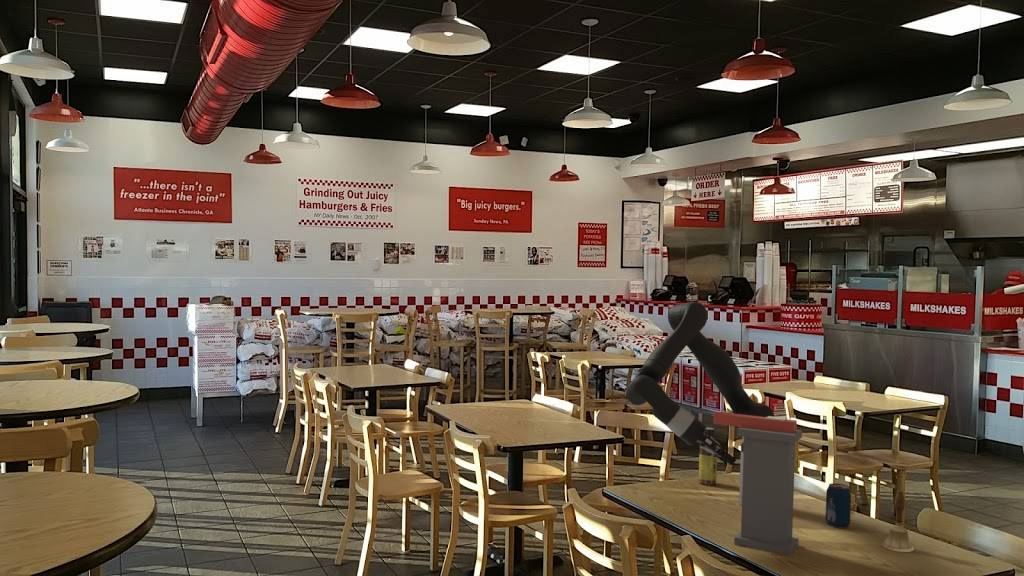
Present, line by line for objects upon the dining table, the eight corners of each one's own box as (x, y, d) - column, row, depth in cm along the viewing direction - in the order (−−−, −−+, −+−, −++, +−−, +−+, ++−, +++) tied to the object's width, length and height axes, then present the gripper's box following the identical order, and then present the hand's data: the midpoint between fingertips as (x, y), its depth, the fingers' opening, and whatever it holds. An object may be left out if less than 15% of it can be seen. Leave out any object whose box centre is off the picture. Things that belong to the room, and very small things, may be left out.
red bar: (713, 423, 230) (713, 411, 230) (717, 422, 233) (717, 410, 233) (793, 433, 219) (793, 420, 219) (796, 431, 222) (796, 419, 222)
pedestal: (734, 544, 224) (737, 428, 223) (744, 535, 232) (747, 423, 232) (790, 555, 216) (794, 435, 215) (798, 545, 224) (802, 430, 224)
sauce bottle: (716, 486, 287) (718, 430, 287) (698, 485, 288) (700, 429, 288) (715, 482, 294) (717, 427, 293) (698, 480, 295) (699, 426, 295)
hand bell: (921, 552, 222) (923, 494, 221) (893, 553, 220) (895, 494, 220) (901, 542, 230) (903, 486, 230) (875, 543, 228) (877, 486, 228)
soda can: (850, 524, 246) (851, 484, 246) (849, 530, 240) (850, 489, 240) (826, 520, 249) (827, 481, 249) (824, 526, 243) (825, 486, 243)
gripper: (697, 415, 229) (744, 452, 227) (690, 415, 243) (734, 450, 241) (681, 436, 229) (728, 473, 226) (674, 435, 243) (718, 470, 240)
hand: (731, 461), depth 233 cm, fingers open, 8 cm apart
